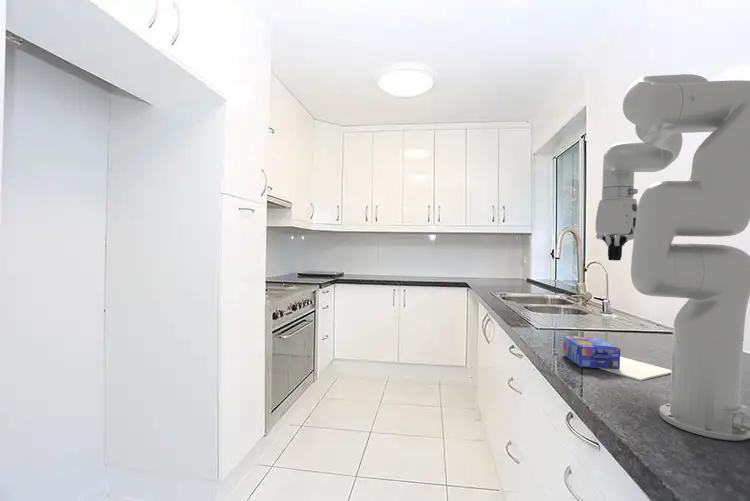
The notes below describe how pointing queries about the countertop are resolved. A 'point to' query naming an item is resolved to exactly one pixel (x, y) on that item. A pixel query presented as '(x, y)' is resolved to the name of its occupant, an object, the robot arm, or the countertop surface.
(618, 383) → the countertop surface
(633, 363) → the cream mat
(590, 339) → the ink cartridge box
